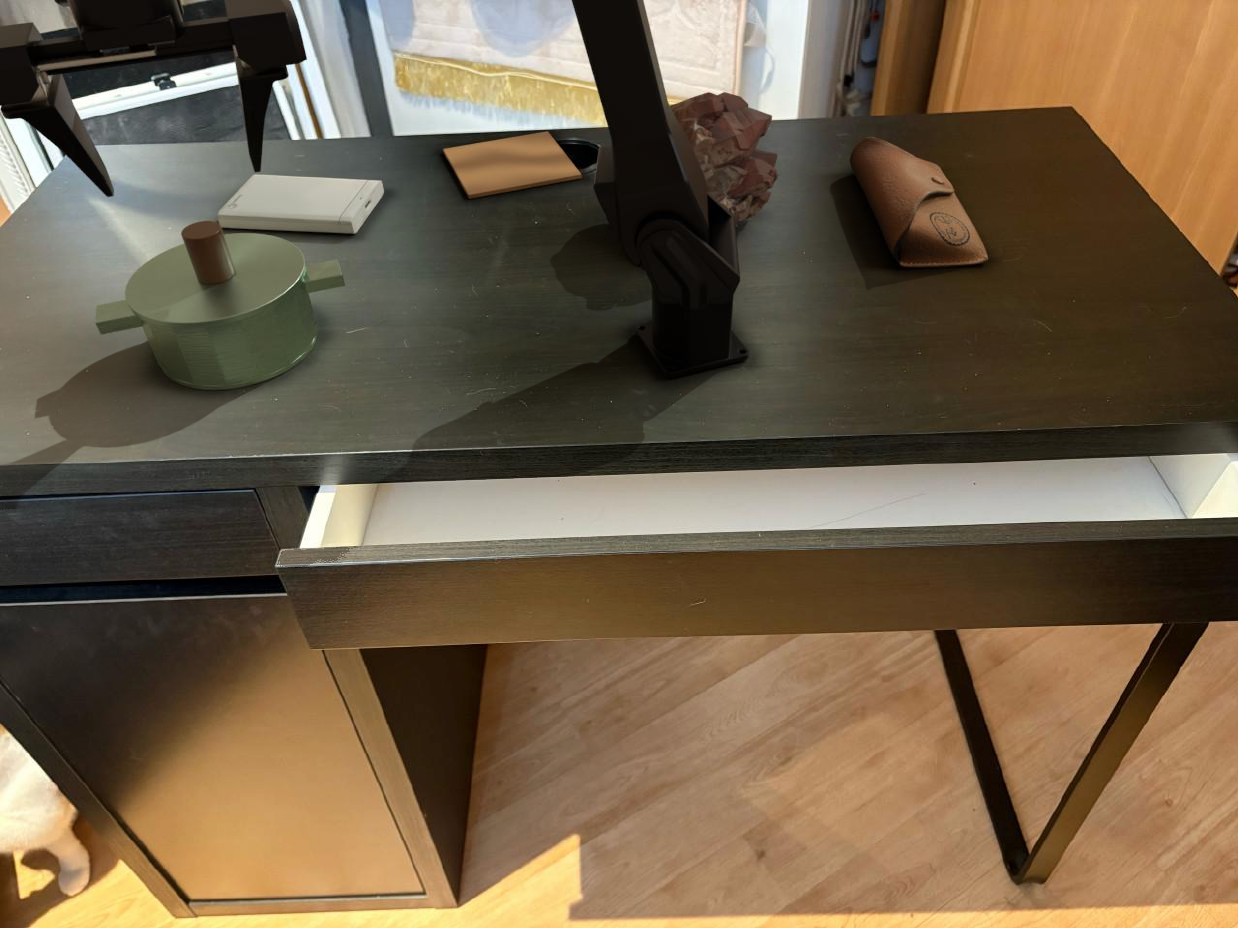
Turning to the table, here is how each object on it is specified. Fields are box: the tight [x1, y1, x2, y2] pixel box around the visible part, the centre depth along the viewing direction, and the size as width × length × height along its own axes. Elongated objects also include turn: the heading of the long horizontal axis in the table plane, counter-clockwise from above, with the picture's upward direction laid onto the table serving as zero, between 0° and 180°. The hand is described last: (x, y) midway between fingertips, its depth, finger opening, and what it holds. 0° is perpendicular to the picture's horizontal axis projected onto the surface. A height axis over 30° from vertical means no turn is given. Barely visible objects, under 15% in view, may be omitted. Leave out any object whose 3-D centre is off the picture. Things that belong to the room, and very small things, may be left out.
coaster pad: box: [442, 130, 583, 200], centre depth 94 cm, size 11×11×1 cm
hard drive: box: [216, 174, 385, 235], centre depth 87 cm, size 2×8×12 cm
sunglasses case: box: [849, 136, 989, 269], centre depth 83 cm, size 18×7×7 cm, turn 2°
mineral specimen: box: [669, 91, 780, 228], centre depth 80 cm, size 12×13×15 cm
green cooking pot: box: [94, 258, 346, 391], centre depth 70 cm, size 11×17×5 cm
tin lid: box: [124, 220, 307, 329], centre depth 67 cm, size 12×12×5 cm
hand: (185, 182), depth 63 cm, fingers open, 9 cm apart
